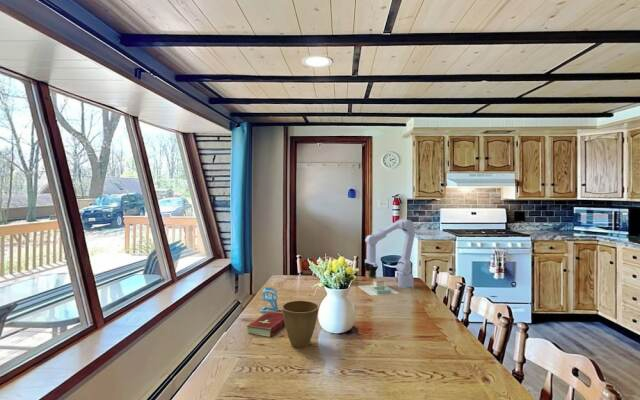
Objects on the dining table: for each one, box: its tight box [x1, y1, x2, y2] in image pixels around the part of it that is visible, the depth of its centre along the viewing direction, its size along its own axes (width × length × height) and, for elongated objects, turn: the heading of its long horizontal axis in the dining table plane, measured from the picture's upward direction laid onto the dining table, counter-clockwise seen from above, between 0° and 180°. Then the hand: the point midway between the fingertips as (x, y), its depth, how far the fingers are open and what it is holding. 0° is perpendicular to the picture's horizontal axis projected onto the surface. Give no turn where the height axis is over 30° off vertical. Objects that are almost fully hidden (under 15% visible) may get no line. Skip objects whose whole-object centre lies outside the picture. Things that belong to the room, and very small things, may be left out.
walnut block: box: [365, 270, 377, 280], centre depth 239 cm, size 5×5×4 cm
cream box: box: [372, 278, 385, 287], centre depth 245 cm, size 5×5×4 cm
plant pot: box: [282, 300, 320, 349], centre depth 157 cm, size 15×15×16 cm
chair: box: [259, 287, 279, 314], centre depth 198 cm, size 8×8×12 cm
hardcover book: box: [246, 311, 286, 338], centre depth 176 cm, size 12×21×4 cm, turn 160°
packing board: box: [357, 283, 399, 296], centre depth 238 cm, size 19×22×3 cm
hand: (370, 275), depth 239 cm, fingers closed on walnut block, 5 cm apart
